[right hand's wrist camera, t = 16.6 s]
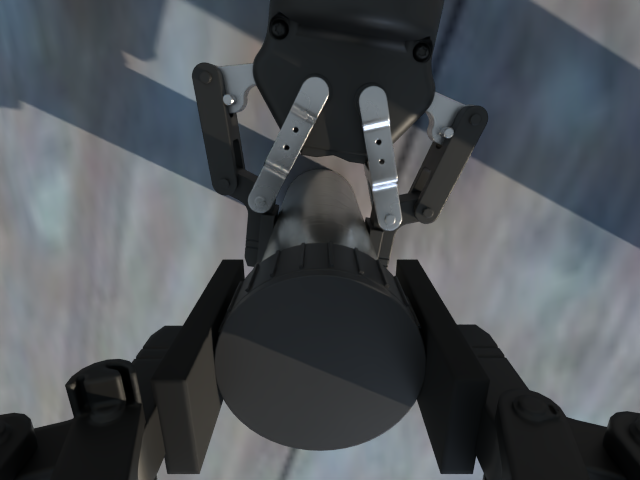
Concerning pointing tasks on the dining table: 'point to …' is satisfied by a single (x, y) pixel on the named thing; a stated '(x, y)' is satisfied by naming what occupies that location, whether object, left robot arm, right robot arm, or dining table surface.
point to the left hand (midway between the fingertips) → (314, 277)
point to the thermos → (320, 214)
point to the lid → (320, 349)
